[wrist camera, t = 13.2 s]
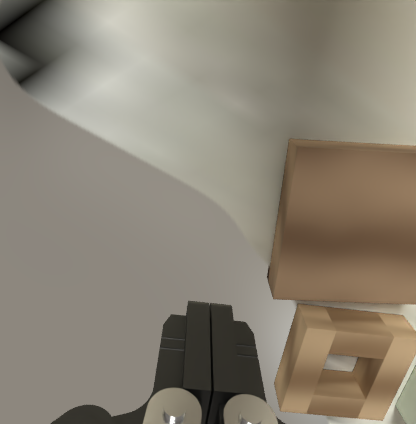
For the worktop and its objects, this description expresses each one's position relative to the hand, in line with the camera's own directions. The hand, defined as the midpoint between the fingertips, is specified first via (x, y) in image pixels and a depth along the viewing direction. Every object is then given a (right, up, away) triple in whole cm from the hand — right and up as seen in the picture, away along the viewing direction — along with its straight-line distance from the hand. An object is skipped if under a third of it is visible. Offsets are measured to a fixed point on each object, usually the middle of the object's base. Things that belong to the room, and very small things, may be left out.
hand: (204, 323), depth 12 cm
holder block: (+10, -7, +15) cm, 19 cm away
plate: (+10, +4, +11) cm, 15 cm away
